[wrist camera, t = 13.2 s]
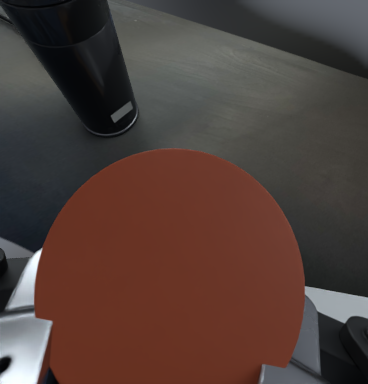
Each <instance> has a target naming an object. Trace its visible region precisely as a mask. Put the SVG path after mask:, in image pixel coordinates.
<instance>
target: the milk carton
mask: <svg viewBox="0 0 368 384" xmlns="http://www.w3.org/2000/svg"><path fill="white" fill-rule="evenodd" d="M305 295H306V296H308V297H309V299H310V300H311V301H312V302H313V304H314V305H315V307H316V309H317V311H318V312H320V313H322V314H325V315H327V316H329V317H331V318H334V319H336V320H338V321H340V322H342V323H345V322H346V321H347V320H348V318H350V317H351V316H361V317H364V318H367V319H368V298H366V297H360V296H355V295H350V294H344V293H339V292H333V291H328V290H323V289H317V288H312V287H306V286H305Z"/></svg>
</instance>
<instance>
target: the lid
mask: <svg viewBox="0 0 368 384" xmlns="http://www.w3.org/2000/svg"><path fill="white" fill-rule="evenodd" d="M304 304H305V278H304V271H303V265H302V259H301V255H300V251H299V248H298V244H297V241H296V239H295V236H294V233H293V231H292V228H291V226H290V224H289V222H288V221H287V219H286V217H285V215H284V213H283V211H282V210H281V209H280V207H279V206H278V204H277V203H276V201H275V200H274V198H273V197H272V196H271V195H270V194H269V193H268V192H267V191H266V189H265V188H264V187H263V186H262V185H261V184H260V183H258V182H257V181H256V180H255V179H254V178H253V177H252V176H250V175H249V174H248V173H246V172H245V171H243V170H242V169H241V168H239V167H237V166H235V165H234V164H232V163H230V162H228V161H226V160H224V159H221V158H219V157H217V156H214V155H211V154H207V153H204V152H201V151H195V150H189V149H175V148H170V149H157V150H151V151H145V152H141V153H138V154H134V155H131V156H129V157H126V158H124V159H121V160H119V161H117V162H115V163H113V164H111V165H109V166H108V167H106V168H104V169H103V170H101V171H100V172H98V173H97V174H95V175H94V176H93V177H91V178H90V179H89V180H88V181H87V182H86V183H85V184H83V185H82V186H81V187H80V188H79V189H78V190H77V191H76V192H75V193H74V195H73V196H72V197H71V198H70V199H69V200H68V202H67V203H66V204H65V206H64V207H63V208H62V210H61V211H60V213H59V214H58V216H57V218H56V219H55V221H54V223H53V225H52V227H51V228H50V231H49V233H48V235H47V238H46V240H45V242H44V245H43V248H42V251H41V255H40V258H39V262H38V266H37V272H36V278H35V289H34V310H35V317H36V318H40V319H45V320H49V321H53V328H52V341H51V354H50V369H51V371H52V373H53V375H54V376H55V378H56V380H57V382H58V383H59V384H256V382H257V379H258V376H259V372H260V369H261V366H262V364H266V365H271V366H276V367H281V368H286V367H287V365H288V363H289V361H290V359H291V357H292V354H293V352H294V349H295V346H296V343H297V341H298V338H299V334H300V329H301V325H302V321H303V313H304Z"/></svg>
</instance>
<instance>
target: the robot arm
mask: <svg viewBox="0 0 368 384" xmlns="http://www.w3.org/2000/svg"><path fill="white" fill-rule="evenodd" d="M0 6H1V7H2V8H3V10H4V11H5V13H6V14H7V16H8V17H9V18H10V19H9V18H7V17H5V16H3V15H1V14H0V18H1V19H4V20H5V21H7V22H9V23H11V24H12V25H14V26H15V27H16V28H17V30H18V31H19V33H20V34H21V35H22V37H23V38H24V40H25V41H26V42H27V44H28V45H29V47H30V48H31V50H32V51H33V52H34V54H35V55H36V57H37V58H38V60H39V61H40V62H41V64H42V65H43V67H44V68H45V70H46V71H47V72H48V74H49V75H50V77H51V78H52V80H53V81H54V82H55V84H56V85H57V87H58V88H59V89H60V91H61V92H62V94H63V95H64V97H65V98H66V99H67V101H68V102H69V104H70V105H71V107H72V108H73V110H74V111H75V113H76V114H77V115H78V117H79V118H80V120H81V122H82V123H83V125H84V126H85V128H86V129H87V130H88V131H89V132H90V133H92V134H94V135H96V136H100V137H114V136H118V135H121V134H123V133H125V132H127V131H128V130H129V129H130V128H132V126H133V125H134V124H135V122H136V121H137V118H138V113H139V112H138V106H137V103H136V101H135V98H134V94H133V90H132V87H131V83H130V79H129V76H128V72H127V69H126V65H125V62H124V58H123V55H122V51H121V47H120V44H119V40H118V37H117V33H116V30H115V26H114V23H113V19H112V15H111V12H110V9H109V5H108V2H107V0H0ZM41 251H42V249H40V250H38V251H37V252H35V253H34V254H33V255H32V256H31V257H28V258H12V259H6V256H5V253H4V251H3V250H2V249H1V248H0V384H59V383H58V382H57V380H56V378H55V376H54V375H53V373H52V371H51V369H50V354H51V341H52V328H53V321H49V320H45V319H40V318H36V317H35V310H34V289H35V278H36V272H37V266H38V262H39V258H40V255H41ZM256 384H368V319H367V318H364V317H361V316H351V317H350V318H348V320H347V321H346V322H345V323H342V322H340V321H338V320H336V319H334V318H331V317H329V316H327V315H325V314H322V313H320V312H318V311H317V309H316V307H315V305H314V304H313V302H312V301H311V300H310V299H309V297H308V296H306V295H305V304H304V313H303V321H302V325H301V329H300V334H299V338H298V341H297V343H296V346H295V349H294V352H293V354H292V357H291V359H290V361H289V363H288V365H287V367H286V368H281V367H276V366H271V365H266V364H262V366H261V369H260V372H259V376H258V379H257V382H256Z"/></svg>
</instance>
